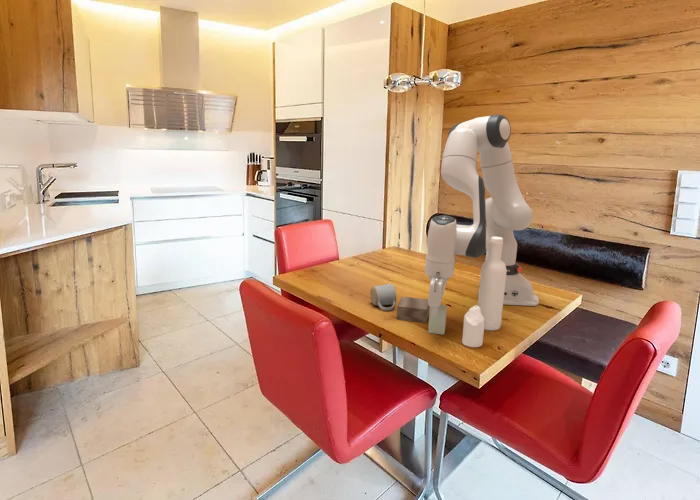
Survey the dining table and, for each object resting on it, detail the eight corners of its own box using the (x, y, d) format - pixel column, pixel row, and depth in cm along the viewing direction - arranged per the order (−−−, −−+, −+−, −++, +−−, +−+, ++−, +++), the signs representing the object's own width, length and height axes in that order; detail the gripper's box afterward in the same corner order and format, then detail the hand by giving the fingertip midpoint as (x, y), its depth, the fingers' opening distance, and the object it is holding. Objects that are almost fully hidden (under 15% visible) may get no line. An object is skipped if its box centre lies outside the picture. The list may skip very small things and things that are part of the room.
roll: (465, 308, 124) (464, 301, 129) (462, 346, 127) (461, 338, 132) (486, 310, 123) (485, 303, 128) (483, 348, 126) (481, 340, 131)
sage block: (445, 328, 139) (447, 305, 137) (444, 334, 134) (446, 311, 133) (429, 326, 140) (431, 303, 139) (428, 332, 136) (429, 309, 134)
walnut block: (428, 312, 153) (429, 299, 151) (426, 323, 143) (427, 309, 142) (401, 309, 155) (401, 296, 154) (396, 320, 146) (397, 306, 145)
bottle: (479, 330, 138) (488, 240, 131) (472, 320, 145) (480, 234, 138) (504, 331, 138) (514, 240, 131) (496, 321, 145) (505, 235, 138)
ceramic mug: (368, 301, 161) (369, 282, 159) (389, 299, 164) (389, 281, 162) (378, 312, 151) (379, 292, 149) (399, 310, 154) (401, 290, 152)
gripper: (447, 279, 122) (443, 324, 125) (451, 261, 141) (448, 301, 144) (425, 276, 124) (421, 320, 127) (432, 259, 143) (429, 298, 146)
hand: (435, 310), depth 136 cm, fingers open, 8 cm apart
